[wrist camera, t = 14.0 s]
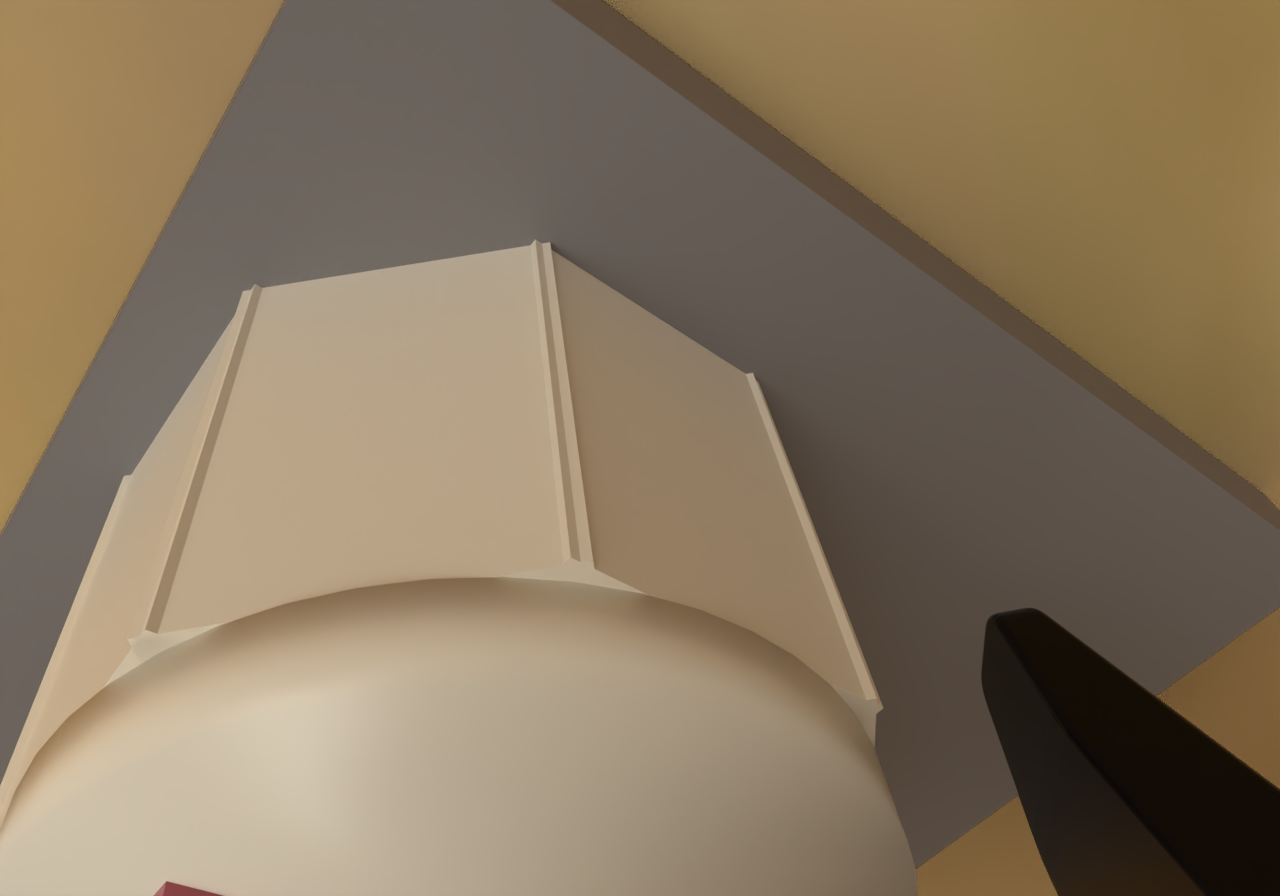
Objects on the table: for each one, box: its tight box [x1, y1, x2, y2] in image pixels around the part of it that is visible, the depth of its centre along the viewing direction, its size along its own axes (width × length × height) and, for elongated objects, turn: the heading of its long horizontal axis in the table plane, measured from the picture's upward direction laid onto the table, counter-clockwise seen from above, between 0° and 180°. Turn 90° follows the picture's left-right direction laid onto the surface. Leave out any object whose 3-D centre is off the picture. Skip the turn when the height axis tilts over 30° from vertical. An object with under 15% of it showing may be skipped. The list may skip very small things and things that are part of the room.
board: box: [0, 0, 1280, 869], centre depth 14 cm, size 16×14×5 cm
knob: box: [0, 239, 917, 896], centre depth 10 cm, size 7×7×5 cm
